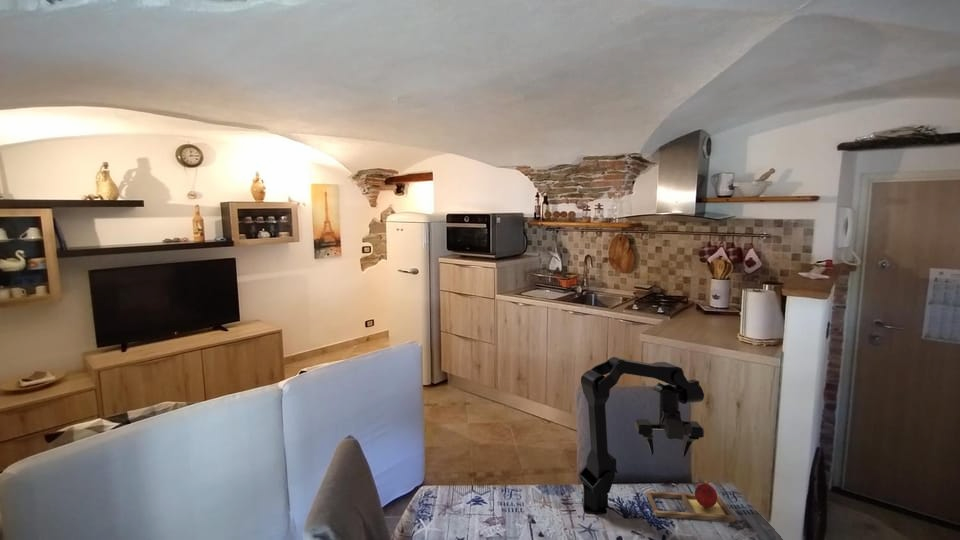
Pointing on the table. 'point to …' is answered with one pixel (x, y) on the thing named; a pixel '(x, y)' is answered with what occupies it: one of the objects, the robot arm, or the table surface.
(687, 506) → the wooden divided frame
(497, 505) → the table surface
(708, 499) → the red pomegranate
